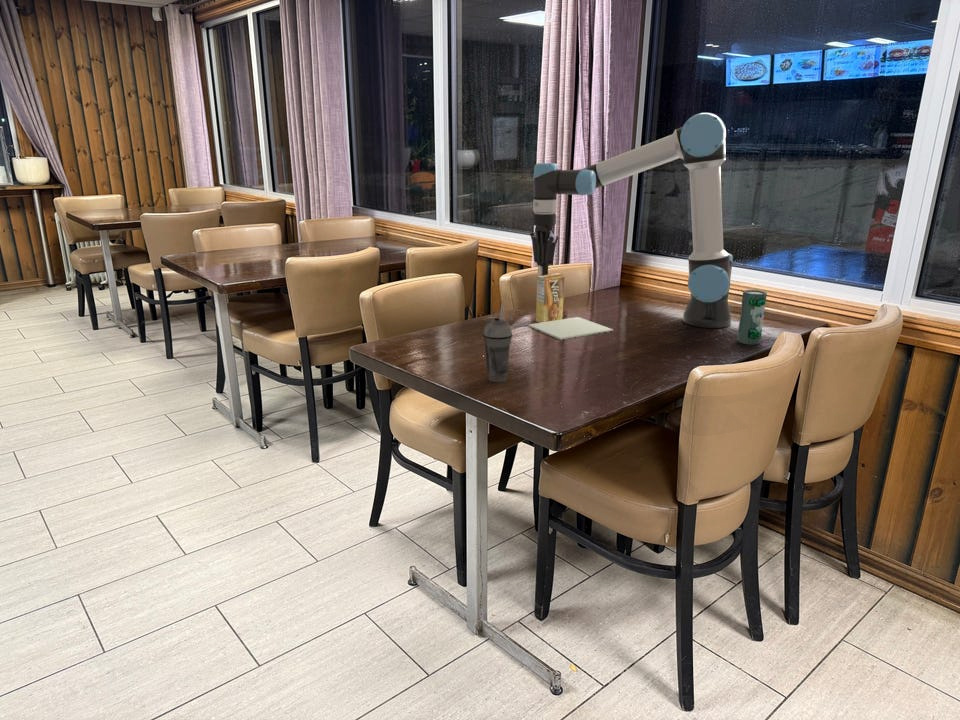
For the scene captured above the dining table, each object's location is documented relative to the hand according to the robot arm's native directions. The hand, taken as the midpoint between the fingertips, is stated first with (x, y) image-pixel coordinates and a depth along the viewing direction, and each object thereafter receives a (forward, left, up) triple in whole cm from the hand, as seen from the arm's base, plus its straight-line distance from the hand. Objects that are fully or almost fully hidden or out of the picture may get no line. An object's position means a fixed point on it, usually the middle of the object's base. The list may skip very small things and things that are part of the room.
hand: (542, 284), depth 221 cm
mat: (-16, 0, -11) cm, 20 cm away
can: (-54, -38, -12) cm, 67 cm away
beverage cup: (-46, +44, -12) cm, 65 cm away
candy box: (-5, 0, -12) cm, 12 cm away
